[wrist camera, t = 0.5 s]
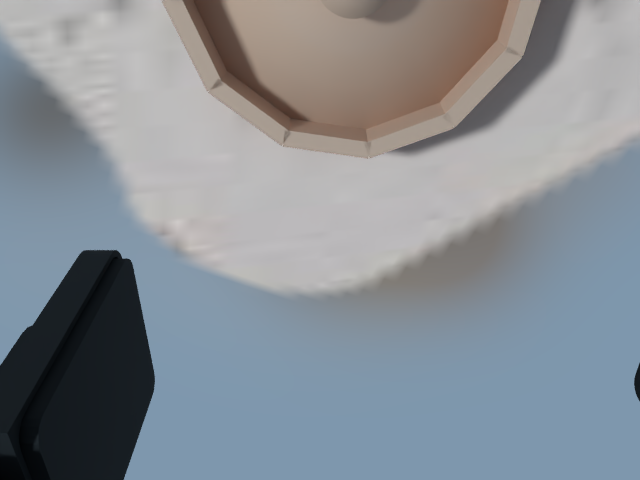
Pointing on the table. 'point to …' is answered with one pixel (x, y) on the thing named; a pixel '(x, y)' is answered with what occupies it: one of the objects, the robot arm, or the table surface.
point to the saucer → (352, 64)
